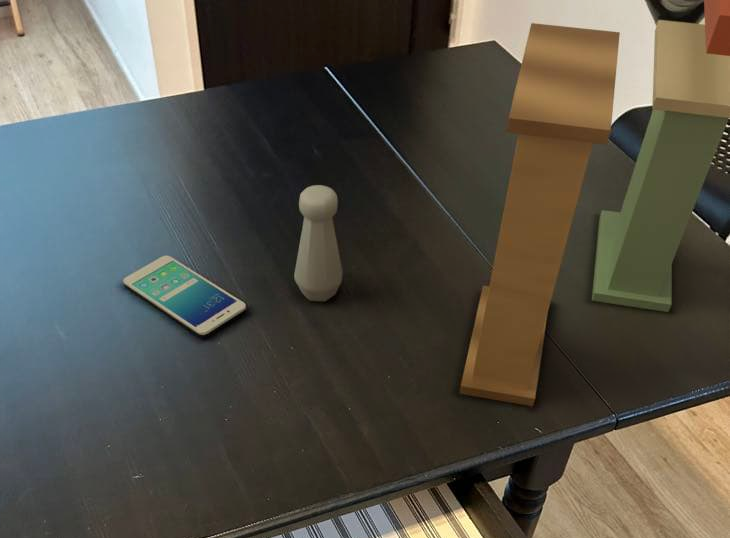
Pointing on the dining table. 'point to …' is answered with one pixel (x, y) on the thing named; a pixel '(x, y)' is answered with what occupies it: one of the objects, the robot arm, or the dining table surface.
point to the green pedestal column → (664, 170)
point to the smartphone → (185, 296)
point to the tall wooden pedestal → (540, 201)
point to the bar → (717, 26)
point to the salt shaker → (318, 245)
